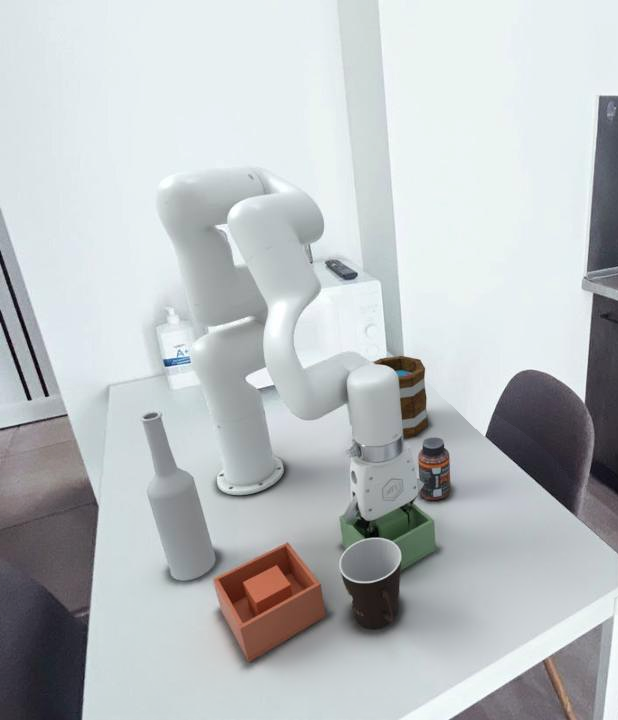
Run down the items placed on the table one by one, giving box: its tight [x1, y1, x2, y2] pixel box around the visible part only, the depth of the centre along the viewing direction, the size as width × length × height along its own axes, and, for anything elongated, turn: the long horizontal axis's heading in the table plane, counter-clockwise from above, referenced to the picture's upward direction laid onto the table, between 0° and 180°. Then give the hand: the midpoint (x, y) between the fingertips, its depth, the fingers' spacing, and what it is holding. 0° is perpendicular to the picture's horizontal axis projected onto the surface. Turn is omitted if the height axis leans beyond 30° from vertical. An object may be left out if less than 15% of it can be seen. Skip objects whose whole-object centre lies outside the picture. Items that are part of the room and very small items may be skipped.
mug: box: [345, 355, 429, 440], centre depth 124 cm, size 20×14×15 cm
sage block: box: [375, 508, 409, 541], centre depth 90 cm, size 5×5×5 cm
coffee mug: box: [338, 538, 402, 631], centre depth 77 cm, size 12×9×10 cm
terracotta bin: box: [212, 542, 327, 663], centre depth 79 cm, size 11×11×6 cm
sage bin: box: [338, 502, 436, 572], centre depth 91 cm, size 11×11×6 cm
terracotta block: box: [243, 565, 293, 617], centre depth 79 cm, size 5×5×5 cm
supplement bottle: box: [417, 436, 451, 501], centre depth 103 cm, size 6×6×11 cm
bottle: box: [139, 410, 217, 582], centre depth 83 cm, size 7×7×28 cm
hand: (388, 535), depth 91 cm, fingers closed on sage block, 5 cm apart
